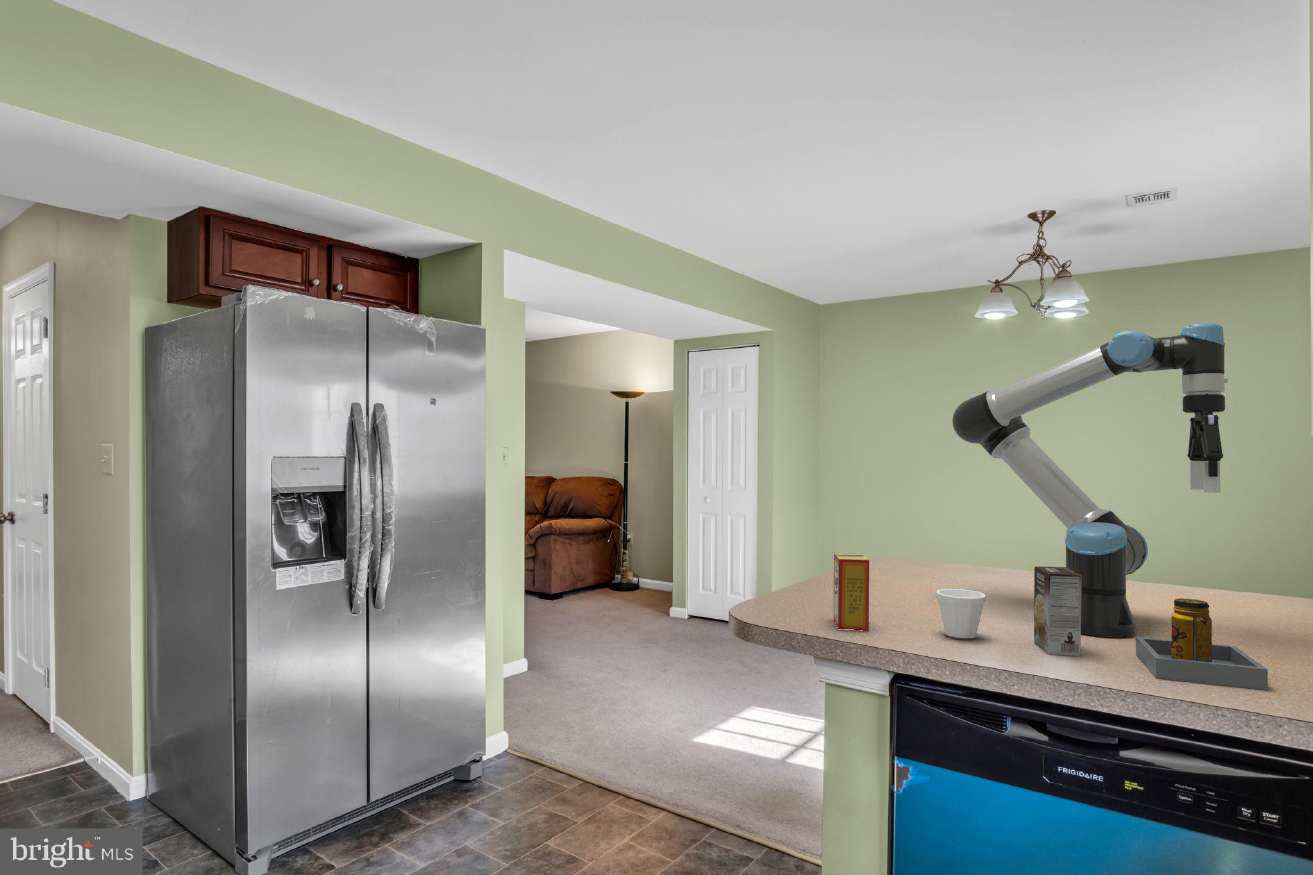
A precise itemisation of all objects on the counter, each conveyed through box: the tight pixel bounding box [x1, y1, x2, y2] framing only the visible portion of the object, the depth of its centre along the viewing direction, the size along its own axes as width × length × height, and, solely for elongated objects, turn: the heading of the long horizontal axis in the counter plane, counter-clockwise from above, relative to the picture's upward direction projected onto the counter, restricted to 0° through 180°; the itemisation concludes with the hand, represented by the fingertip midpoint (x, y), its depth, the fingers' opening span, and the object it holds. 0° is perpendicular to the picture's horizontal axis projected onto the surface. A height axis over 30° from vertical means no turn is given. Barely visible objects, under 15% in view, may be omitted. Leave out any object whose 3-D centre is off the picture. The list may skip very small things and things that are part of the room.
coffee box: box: [1033, 566, 1082, 657], centre depth 150 cm, size 9×6×16 cm
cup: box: [935, 588, 987, 641], centre depth 159 cm, size 10×10×9 cm
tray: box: [1135, 636, 1269, 691], centre depth 136 cm, size 16×16×4 cm
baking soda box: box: [833, 552, 870, 632], centre depth 168 cm, size 10×6×16 cm
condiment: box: [1170, 597, 1213, 662], centre depth 136 cm, size 7×8×12 cm
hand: (1204, 491), depth 163 cm, fingers open, 13 cm apart
